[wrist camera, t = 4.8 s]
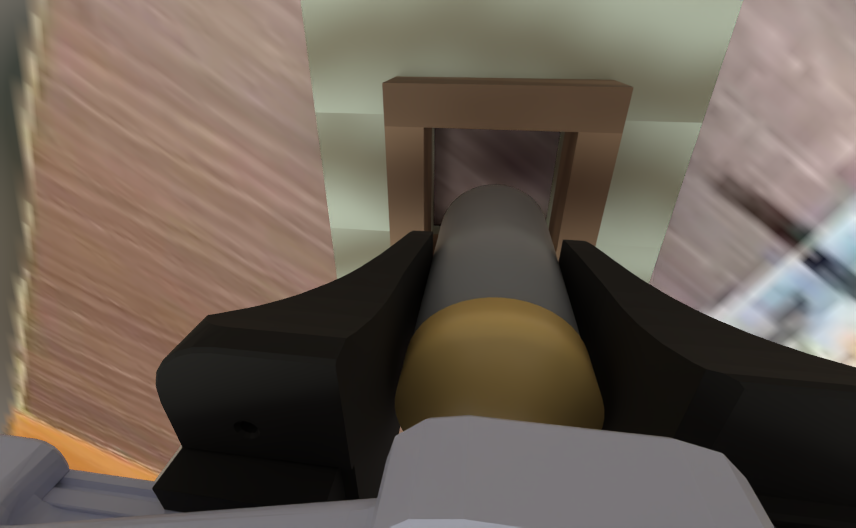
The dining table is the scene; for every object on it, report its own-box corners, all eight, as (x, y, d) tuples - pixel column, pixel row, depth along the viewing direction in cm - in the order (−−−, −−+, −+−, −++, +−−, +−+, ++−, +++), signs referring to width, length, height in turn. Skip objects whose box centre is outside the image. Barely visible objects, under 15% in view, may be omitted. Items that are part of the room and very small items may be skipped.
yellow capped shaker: (533, 289, 14) (567, 493, 8) (432, 271, 15) (388, 458, 8) (562, 192, 13) (638, 360, 6) (446, 174, 13) (403, 318, 6)
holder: (630, 307, 22) (653, 352, 19) (344, 285, 23) (323, 322, 20) (729, -3, 15) (792, -12, 12) (310, 0, 16) (269, -7, 13)
